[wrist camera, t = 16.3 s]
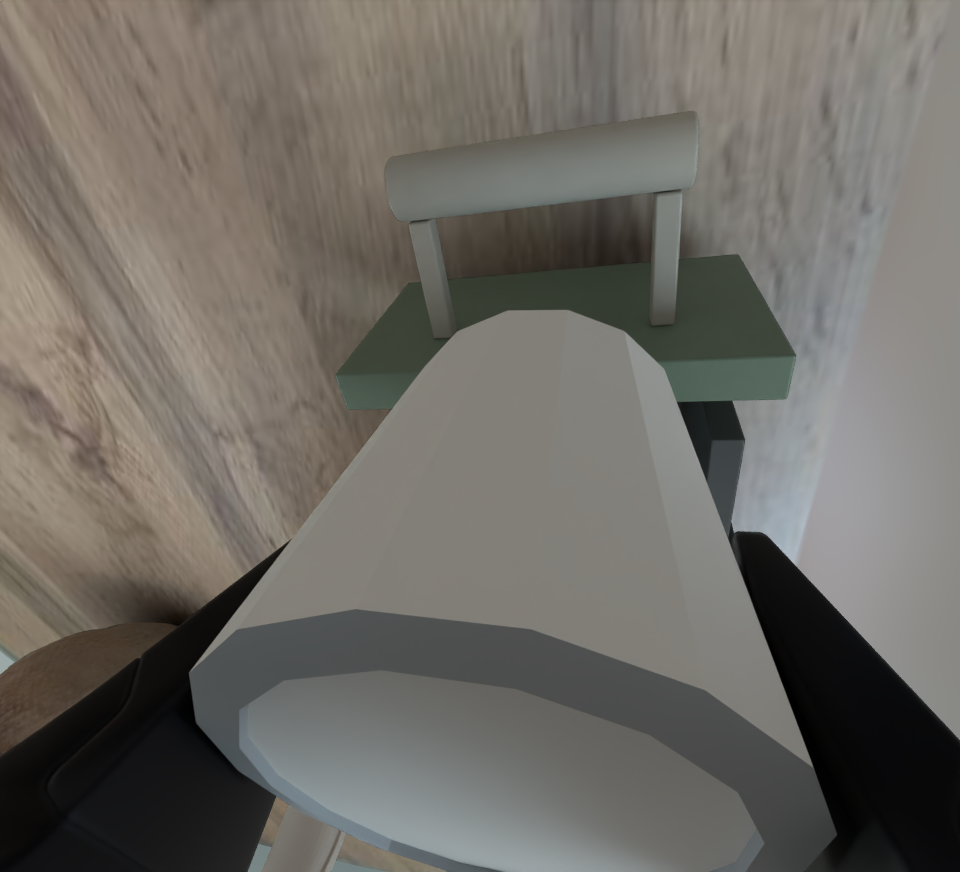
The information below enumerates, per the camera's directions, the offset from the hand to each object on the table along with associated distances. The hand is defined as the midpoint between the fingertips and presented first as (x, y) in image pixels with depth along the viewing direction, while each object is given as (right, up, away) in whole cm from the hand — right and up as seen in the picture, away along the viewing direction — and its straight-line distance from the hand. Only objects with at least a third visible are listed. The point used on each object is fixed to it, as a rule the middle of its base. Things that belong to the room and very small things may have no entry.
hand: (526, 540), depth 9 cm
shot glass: (+1, +2, +2) cm, 3 cm away
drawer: (+3, +4, +12) cm, 13 cm away
